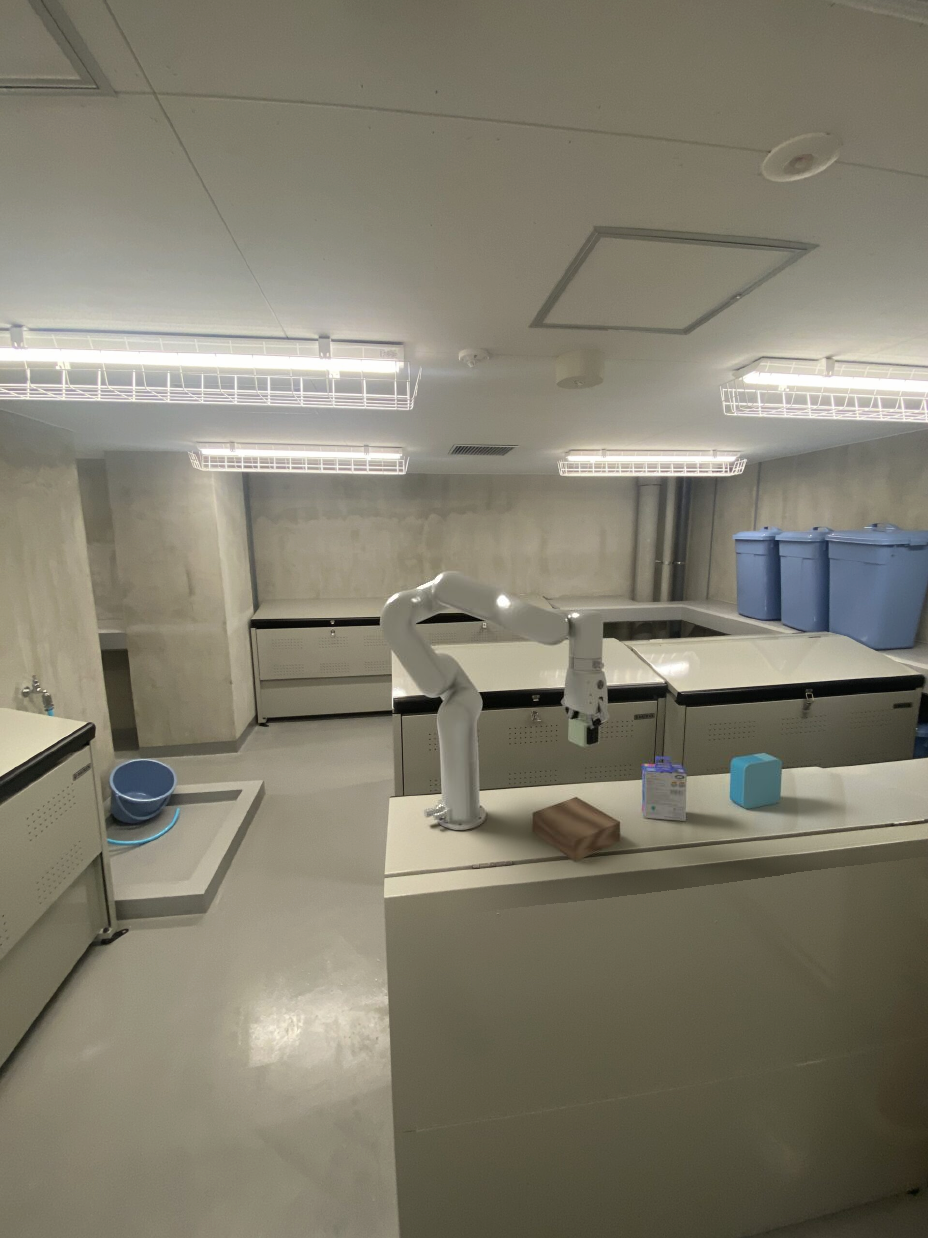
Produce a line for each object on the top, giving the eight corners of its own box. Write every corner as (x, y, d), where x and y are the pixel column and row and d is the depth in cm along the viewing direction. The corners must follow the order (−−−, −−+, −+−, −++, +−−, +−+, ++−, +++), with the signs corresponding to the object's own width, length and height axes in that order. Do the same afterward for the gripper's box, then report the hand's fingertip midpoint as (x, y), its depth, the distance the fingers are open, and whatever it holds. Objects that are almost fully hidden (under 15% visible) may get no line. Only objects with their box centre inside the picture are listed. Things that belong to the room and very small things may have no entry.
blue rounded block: (765, 795, 127) (767, 752, 126) (780, 803, 123) (782, 758, 121) (728, 802, 124) (730, 757, 122) (743, 810, 119) (744, 764, 118)
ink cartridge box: (681, 810, 120) (683, 755, 119) (687, 822, 115) (688, 764, 113) (640, 807, 122) (641, 753, 121) (644, 818, 117) (645, 762, 115)
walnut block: (574, 863, 101) (573, 841, 100) (532, 832, 113) (532, 812, 112) (619, 842, 108) (620, 821, 107) (576, 815, 120) (576, 796, 119)
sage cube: (583, 747, 108) (583, 726, 108) (568, 740, 113) (568, 720, 112) (599, 743, 111) (599, 722, 110) (583, 736, 115) (584, 716, 114)
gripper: (625, 668, 104) (623, 748, 106) (571, 656, 119) (570, 726, 121) (601, 672, 100) (599, 755, 102) (548, 659, 115) (547, 731, 117)
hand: (583, 738), depth 112 cm, fingers closed on sage cube, 5 cm apart
